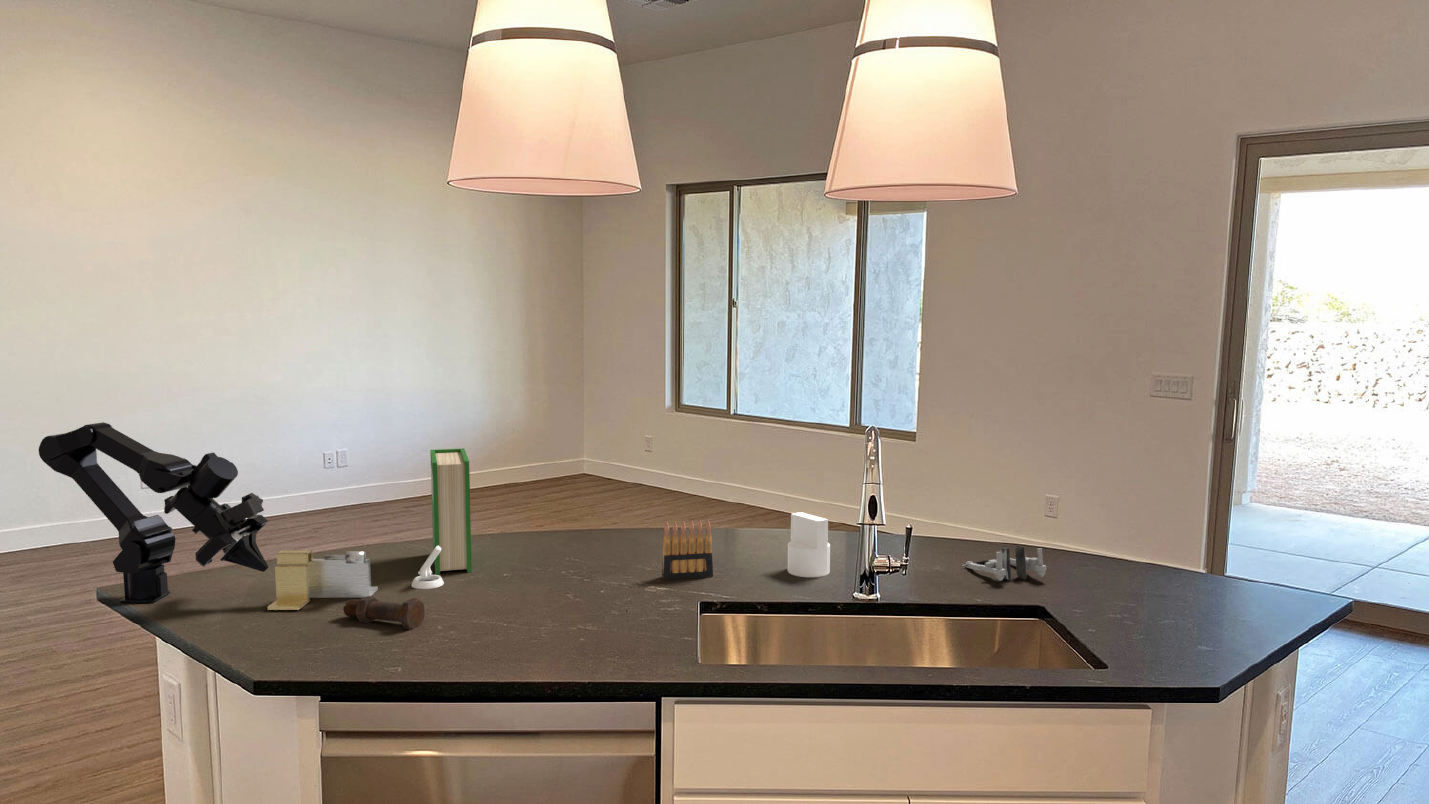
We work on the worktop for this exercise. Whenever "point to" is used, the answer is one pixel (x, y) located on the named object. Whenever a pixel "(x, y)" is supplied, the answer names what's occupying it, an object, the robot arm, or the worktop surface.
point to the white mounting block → (340, 576)
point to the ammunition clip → (687, 553)
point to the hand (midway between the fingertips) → (266, 569)
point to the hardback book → (451, 509)
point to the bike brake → (1003, 563)
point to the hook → (428, 573)
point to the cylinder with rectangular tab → (808, 546)
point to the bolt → (386, 611)
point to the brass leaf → (292, 580)
